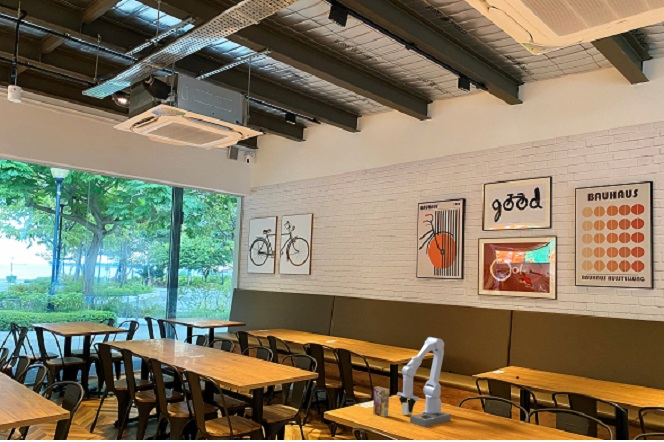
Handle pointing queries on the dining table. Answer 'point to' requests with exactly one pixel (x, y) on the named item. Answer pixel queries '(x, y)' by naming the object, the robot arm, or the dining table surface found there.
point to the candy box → (381, 401)
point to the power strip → (430, 418)
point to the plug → (406, 409)
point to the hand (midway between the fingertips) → (407, 411)
